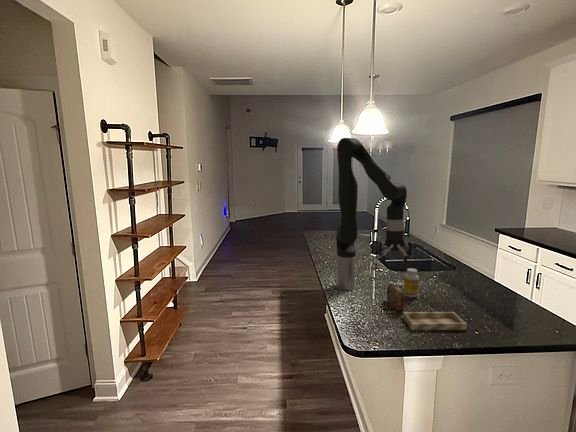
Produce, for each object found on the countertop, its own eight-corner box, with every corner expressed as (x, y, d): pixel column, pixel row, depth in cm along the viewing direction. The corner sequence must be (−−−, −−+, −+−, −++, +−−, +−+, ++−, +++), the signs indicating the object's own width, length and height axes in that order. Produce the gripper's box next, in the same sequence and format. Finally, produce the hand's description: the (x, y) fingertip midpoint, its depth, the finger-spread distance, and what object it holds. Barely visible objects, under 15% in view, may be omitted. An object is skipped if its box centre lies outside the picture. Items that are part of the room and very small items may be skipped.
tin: (385, 299, 153) (386, 282, 152) (392, 298, 154) (393, 282, 152) (399, 314, 139) (400, 295, 137) (406, 313, 139) (407, 295, 137)
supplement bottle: (411, 298, 153) (412, 272, 151) (400, 293, 159) (401, 268, 157) (420, 296, 156) (422, 270, 154) (410, 291, 162) (411, 266, 160)
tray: (411, 329, 125) (412, 323, 125) (402, 317, 135) (403, 312, 135) (466, 329, 125) (466, 323, 125) (453, 317, 135) (453, 311, 135)
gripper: (379, 230, 141) (378, 266, 144) (413, 230, 139) (412, 266, 142) (377, 226, 149) (377, 260, 152) (410, 226, 146) (409, 261, 149)
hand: (394, 263), depth 147 cm, fingers open, 8 cm apart
